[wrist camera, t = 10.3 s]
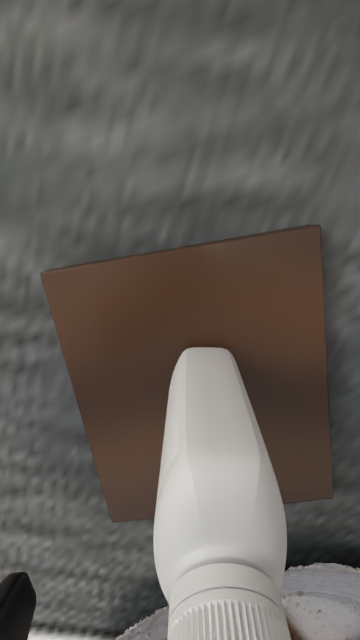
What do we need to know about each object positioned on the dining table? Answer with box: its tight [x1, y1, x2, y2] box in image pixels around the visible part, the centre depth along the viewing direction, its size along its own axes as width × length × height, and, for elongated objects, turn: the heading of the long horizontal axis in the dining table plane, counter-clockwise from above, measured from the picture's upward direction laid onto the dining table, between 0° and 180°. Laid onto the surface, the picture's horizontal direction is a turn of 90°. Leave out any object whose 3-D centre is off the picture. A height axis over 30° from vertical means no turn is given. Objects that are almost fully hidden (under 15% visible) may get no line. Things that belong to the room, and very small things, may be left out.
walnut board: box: [40, 225, 333, 523], centre depth 16 cm, size 14×12×1 cm
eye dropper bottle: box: [153, 347, 291, 640], centre depth 10 cm, size 4×6×12 cm
